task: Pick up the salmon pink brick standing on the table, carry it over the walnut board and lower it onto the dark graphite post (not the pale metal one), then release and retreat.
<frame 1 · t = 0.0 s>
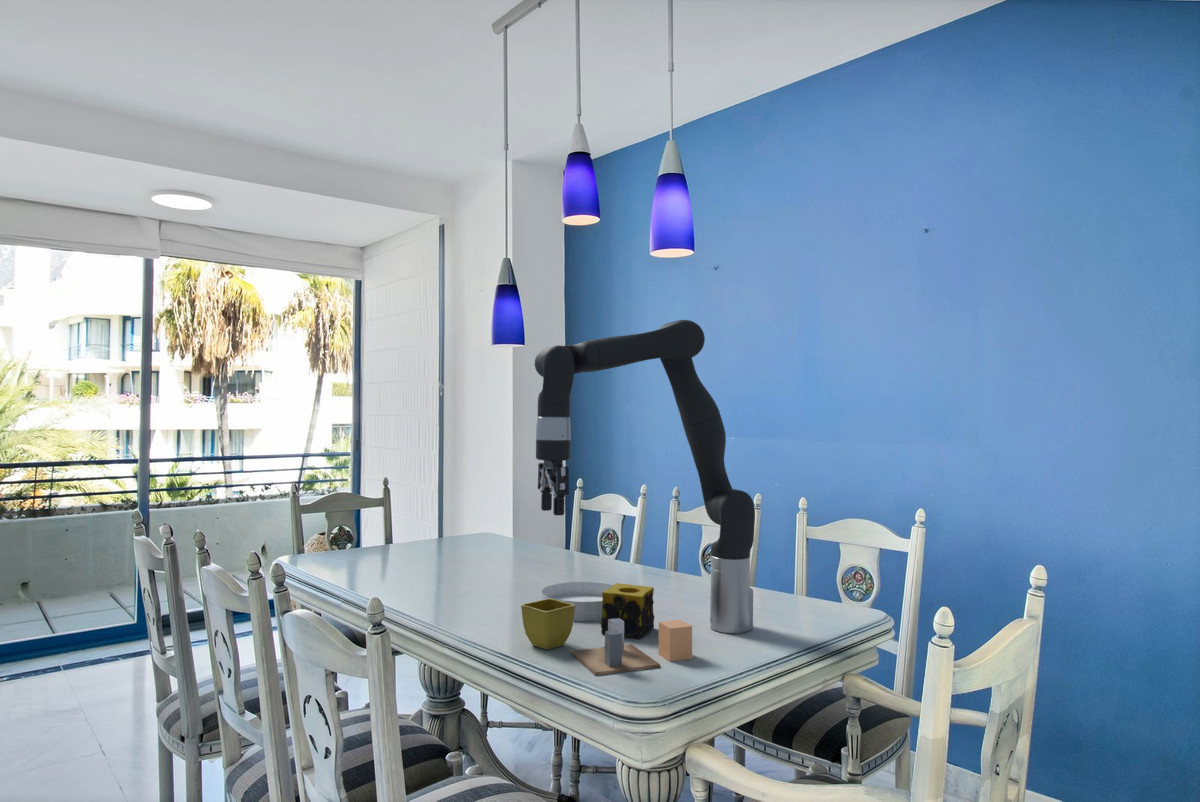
hand: (552, 512, 162), 29 cm above the table, fingers open, 8 cm apart
dish: (582, 611, 194), on the table
graphite post: (613, 664, 149), resting on board
salmon pink brick: (675, 656, 157), on the table
metal post: (615, 650, 158), resting on board
flower pot: (547, 646, 163), on the table
board: (614, 660, 154), on the table
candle: (627, 632, 174), on the table
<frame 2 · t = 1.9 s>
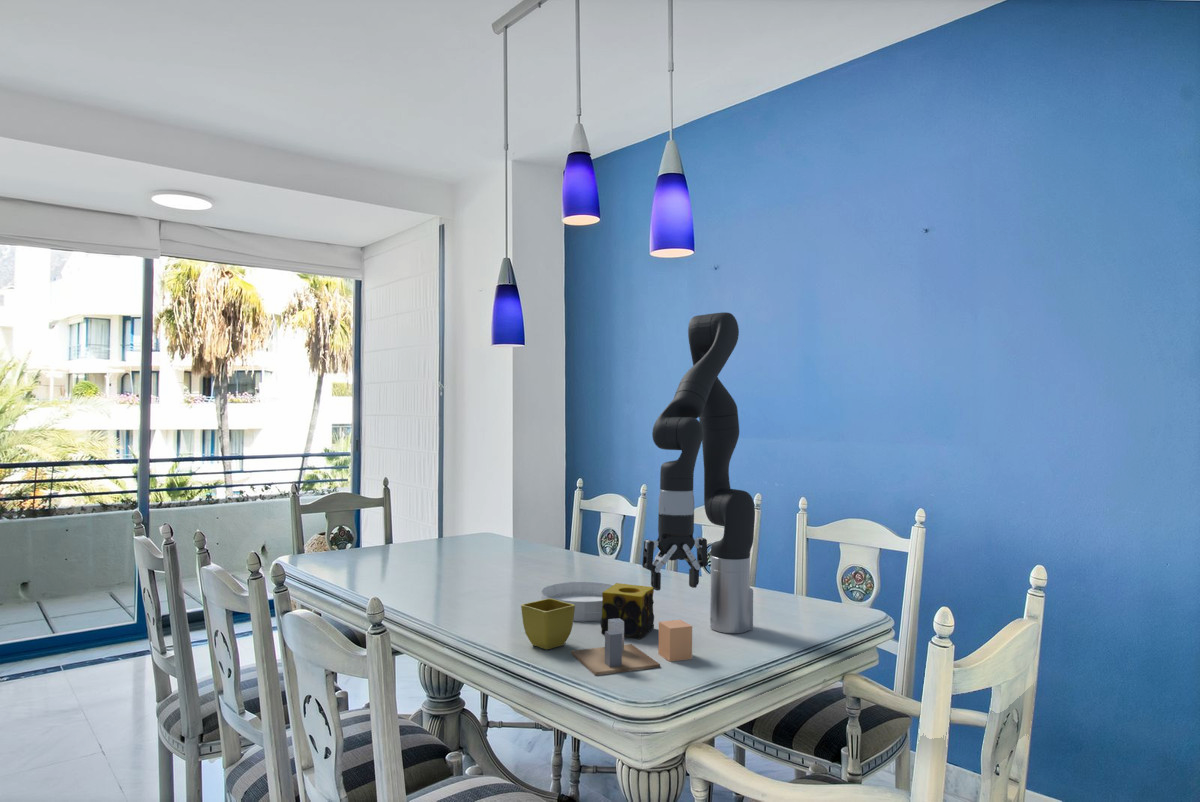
hand: (674, 588, 157), 14 cm above the table, fingers open, 8 cm apart
nothing on the table moved.
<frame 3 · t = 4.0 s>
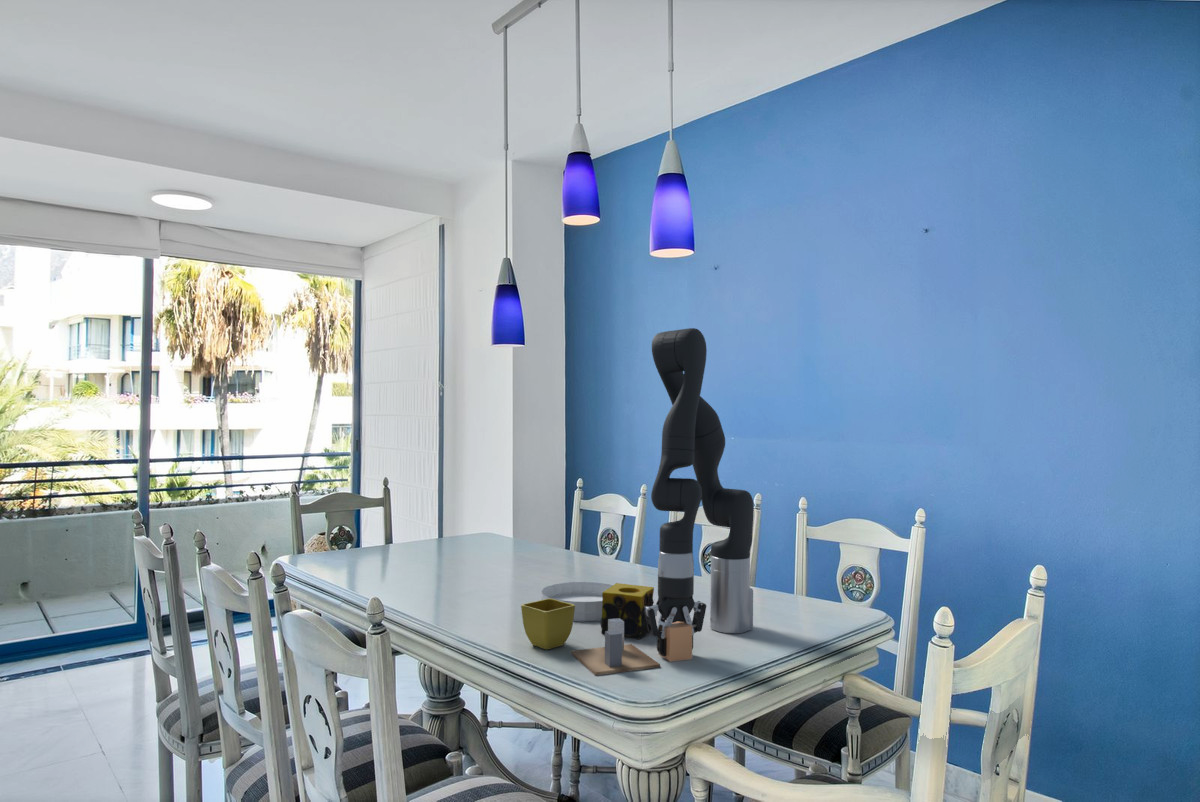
hand: (674, 653, 157), 1 cm above the table, fingers closed on salmon pink brick, 5 cm apart
salmon pink brick: (675, 656, 157), on the table, touching gripper
everything else where it was.
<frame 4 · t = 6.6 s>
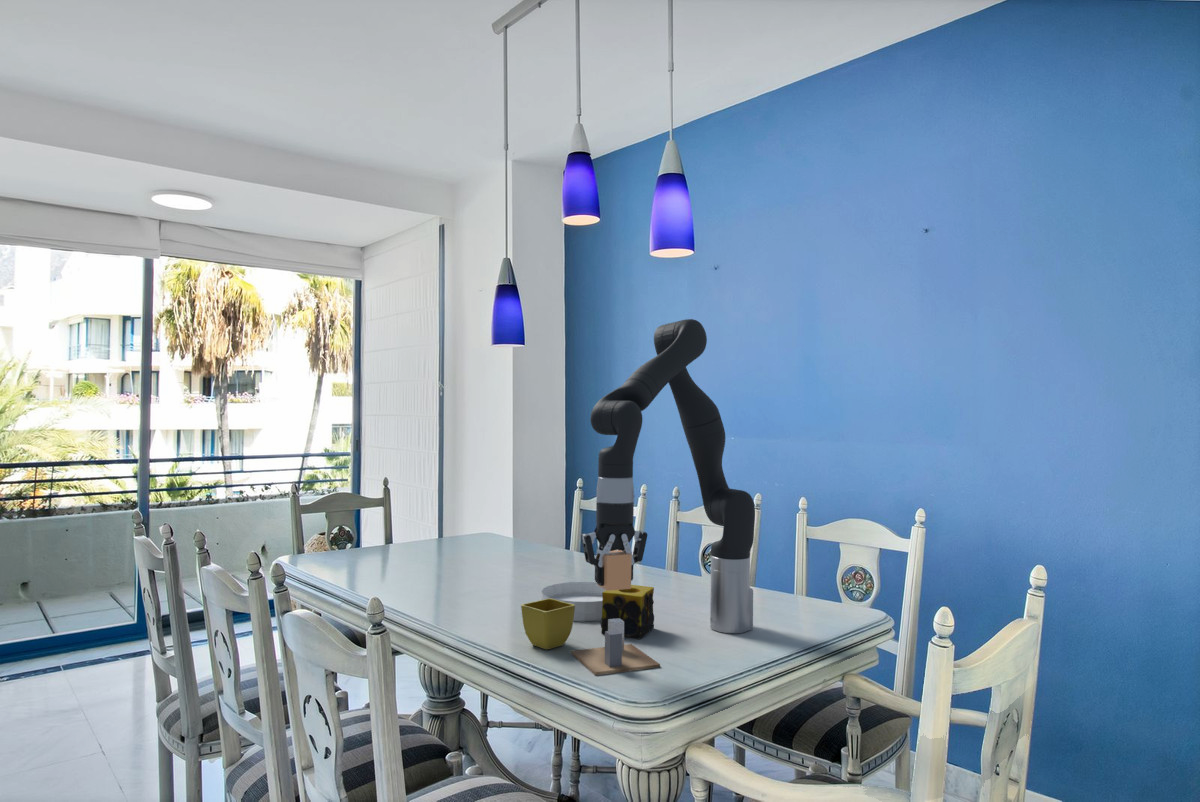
hand: (613, 583, 150), 17 cm above the table, fingers closed on salmon pink brick, 5 cm apart
salmon pink brick: (613, 586, 150), point 16 cm above the table, touching gripper
everything else where it was.
when the fingers open (3 cm above the table, at t = 9.6 s): salmon pink brick drops 1 cm, resting on graphite post.
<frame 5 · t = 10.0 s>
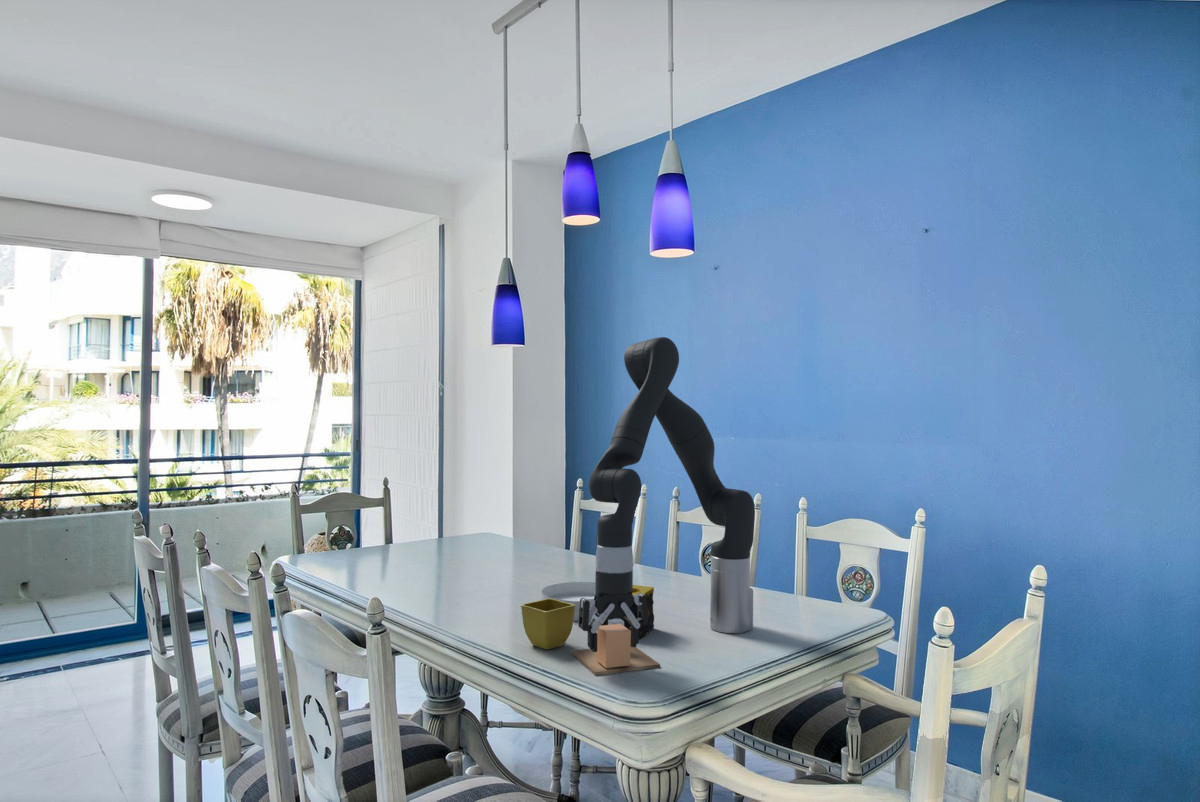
hand: (613, 648, 149), 4 cm above the table, fingers open, 8 cm apart
salmon pink brick: (613, 662, 149), point 1 cm above the table, touching graphite post
everything else where it was.
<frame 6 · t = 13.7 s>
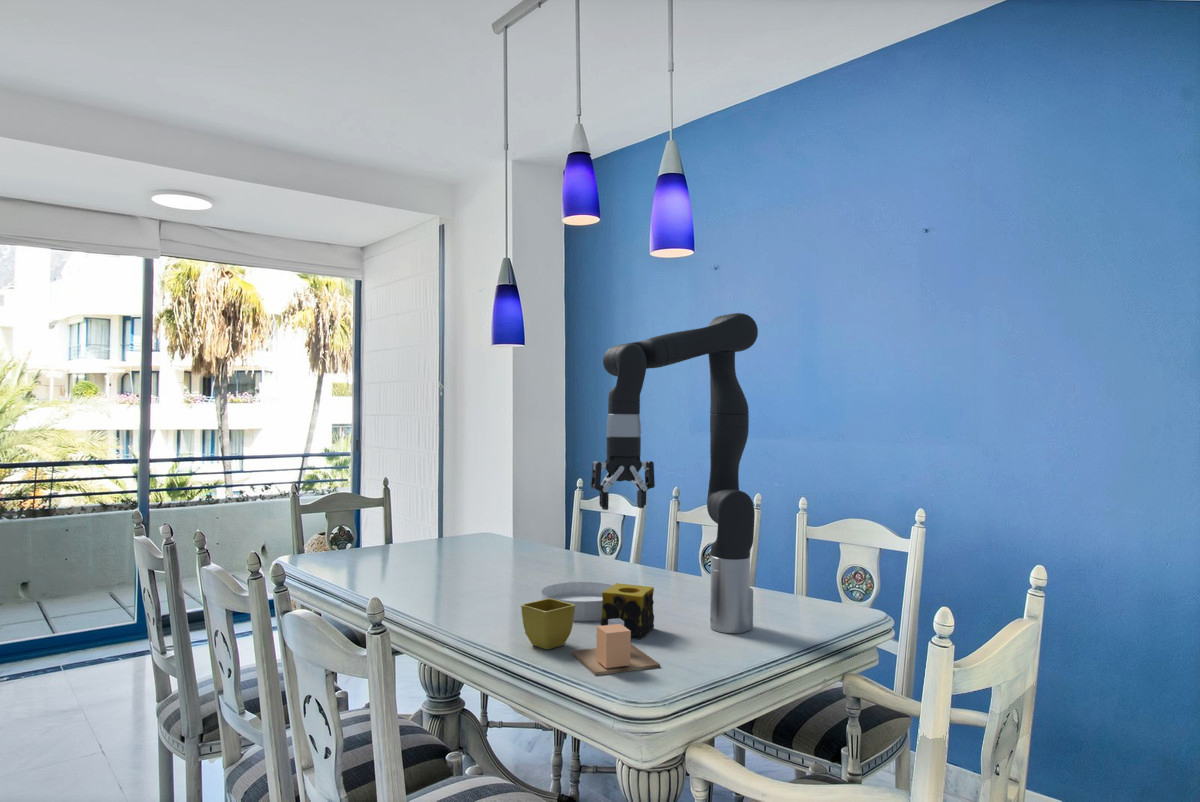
hand: (622, 508, 164), 30 cm above the table, fingers open, 8 cm apart
nothing on the table moved.
at the end: salmon pink brick 0.0 cm from the graphite post (horizontally); salmon pink brick point 1.0 cm above the table; the gripper is holding nothing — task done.
